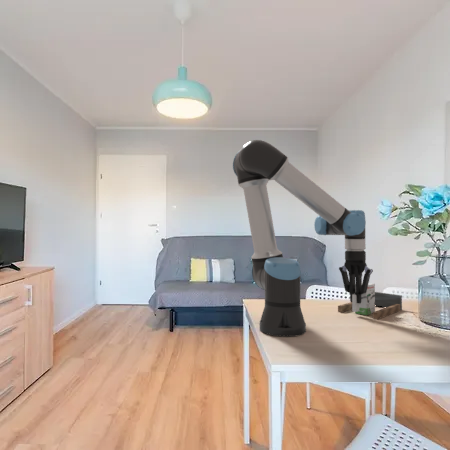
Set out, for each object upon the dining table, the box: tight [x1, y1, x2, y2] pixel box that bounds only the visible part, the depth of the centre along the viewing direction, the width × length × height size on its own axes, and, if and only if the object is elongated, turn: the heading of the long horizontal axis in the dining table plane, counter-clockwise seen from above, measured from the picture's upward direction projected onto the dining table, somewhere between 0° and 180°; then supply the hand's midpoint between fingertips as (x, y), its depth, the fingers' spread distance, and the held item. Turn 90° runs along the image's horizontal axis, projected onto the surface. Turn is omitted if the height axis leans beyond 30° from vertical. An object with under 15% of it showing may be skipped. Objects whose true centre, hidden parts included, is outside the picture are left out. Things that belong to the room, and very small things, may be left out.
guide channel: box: [337, 291, 403, 320], centre depth 139 cm, size 24×16×6 cm
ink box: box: [354, 281, 376, 316], centre depth 136 cm, size 9×5×12 cm, turn 134°
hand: (355, 311), depth 130 cm, fingers closed
